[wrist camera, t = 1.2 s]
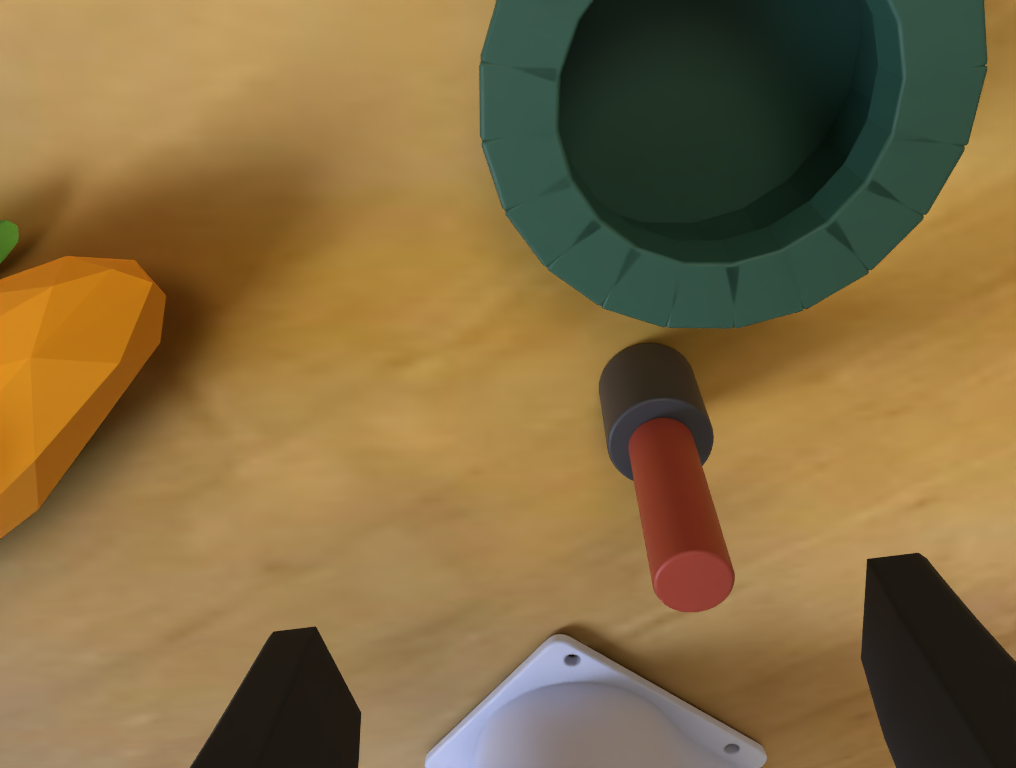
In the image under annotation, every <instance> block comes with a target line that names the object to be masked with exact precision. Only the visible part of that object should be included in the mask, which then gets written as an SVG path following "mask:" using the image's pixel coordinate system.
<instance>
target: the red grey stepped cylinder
mask: <svg viewBox="0 0 1016 768" xmlns="http://www.w3.org/2000/svg"><path fill="white" fill-rule="evenodd" d="M599 393H600V400H601V407H602V414H603V421H604V428H605V435H606V442H607V448H608V453H609V456H610V459H611V461H612V463H613V464H614V466H615V467H616V468H617V469H618V470H619V471H620V472H621V473H622V474H623V475H625V476H626V477H627V478H629V479H631V480H633V481H634V484H635V489H636V495H637V500H638V506H639V511H640V517H641V523H642V528H643V534H644V539H645V545H646V550H647V556H648V561H649V567H650V572H651V578H652V584H653V589H654V592H655V594H656V595H657V597H658V598H659V599H660V600H661V601H662V602H663V603H664V604H665V605H667V606H668V607H670V608H672V609H675V610H678V611H682V612H700V611H704V610H708V609H711V608H713V607H715V606H717V605H718V604H720V603H721V602H722V601H724V600H725V599H726V598H727V596H728V595H729V594H730V592H731V590H732V588H733V585H734V581H735V574H734V570H733V567H732V563H731V560H730V557H729V553H728V550H727V547H726V543H725V540H724V537H723V534H722V530H721V527H720V524H719V520H718V517H717V514H716V510H715V507H714V504H713V501H712V497H711V494H710V491H709V487H708V484H707V481H706V478H705V474H704V471H703V468H702V466H703V465H704V463H705V462H706V460H707V459H708V457H709V455H710V452H711V450H712V446H713V438H714V435H713V429H712V425H711V422H710V419H709V417H708V414H707V411H706V408H705V405H704V402H703V399H702V396H701V393H700V390H699V387H698V385H697V382H696V379H695V376H694V373H693V370H692V368H691V366H690V364H689V362H688V361H687V360H686V358H685V357H684V356H683V355H681V354H680V353H679V352H678V351H676V350H674V349H672V348H670V347H668V346H664V345H661V344H654V343H646V344H639V345H635V346H631V347H629V348H627V349H624V350H623V351H621V352H619V353H618V354H617V355H615V356H614V357H613V358H612V359H611V360H610V361H609V363H608V364H607V365H606V367H605V368H604V370H603V372H602V375H601V378H600V383H599Z"/></svg>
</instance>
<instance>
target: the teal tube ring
mask: <svg viewBox="0 0 1016 768" xmlns="http://www.w3.org/2000/svg"><path fill="white" fill-rule="evenodd" d="M985 64H987V45H986V27H985V8H984V0H497V1H496V5H495V8H494V11H493V15H492V18H491V21H490V25H489V28H488V32H487V35H486V39H485V42H484V46H483V49H482V53H481V62H480V66H479V80H480V137H481V139H482V148H483V151H484V154H485V157H486V160H487V163H488V166H489V169H490V172H491V175H492V178H493V181H494V184H495V187H496V190H497V193H498V196H499V199H500V202H501V205H502V207H503V209H504V210H505V213H506V216H507V217H508V218H509V220H510V221H511V222H512V224H513V225H514V227H515V228H516V229H517V231H518V232H519V233H520V235H521V236H522V237H523V239H524V240H525V241H526V243H527V244H528V245H529V247H530V248H531V249H532V251H533V252H534V253H535V255H536V256H537V258H538V259H539V260H540V262H541V263H542V264H543V265H544V266H547V268H548V270H549V271H550V272H552V273H553V274H555V275H556V276H557V277H559V278H560V279H562V280H563V281H565V282H566V283H567V284H569V285H570V286H572V287H573V288H574V289H576V290H577V291H579V292H580V293H582V294H583V295H584V296H586V297H587V298H589V299H590V300H591V301H593V302H594V303H596V304H597V305H600V306H601V305H602V308H604V309H607V310H610V311H613V312H616V313H619V314H623V315H626V316H629V317H632V318H635V319H638V320H642V321H645V322H648V323H651V324H654V325H658V326H661V327H666V326H667V327H669V328H734V326H735V328H740V327H744V326H748V325H751V324H755V323H759V322H763V321H766V320H770V319H774V318H777V317H781V316H785V315H789V314H792V313H796V312H800V311H802V310H803V309H808V308H809V307H811V306H813V305H815V304H816V303H818V302H820V301H822V300H823V299H825V298H827V297H829V296H830V295H832V294H834V293H835V292H837V291H839V290H841V289H842V288H844V287H846V286H848V285H849V284H851V283H853V282H854V281H856V280H858V279H860V278H861V277H863V276H865V275H867V274H868V273H869V271H868V270H872V269H873V268H874V267H875V266H876V265H877V264H878V263H879V262H880V261H882V260H883V259H884V258H885V257H886V256H887V255H888V254H889V253H890V252H891V251H892V250H893V249H894V248H895V247H896V246H897V245H898V244H899V243H900V242H901V241H902V240H903V239H904V238H905V237H906V236H907V235H908V234H909V233H910V232H911V231H912V230H913V229H914V228H915V227H916V226H917V225H918V224H919V223H920V222H921V221H922V220H923V218H924V217H923V215H926V214H927V213H928V212H929V210H930V208H931V207H932V205H933V203H934V201H935V200H936V198H937V196H938V195H939V193H940V191H941V189H942V188H943V186H944V184H945V183H946V181H947V179H948V177H949V176H950V174H951V172H952V171H953V169H954V167H955V166H956V164H957V162H958V160H959V159H960V157H961V155H962V154H963V152H964V149H965V147H964V146H965V145H967V144H968V142H969V138H970V134H971V130H972V126H973V122H974V118H975V114H976V111H977V107H978V103H979V99H980V95H981V91H982V87H983V83H984V79H985V76H986V72H987V66H985Z"/></svg>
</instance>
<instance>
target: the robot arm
mask: <svg viewBox="0 0 1016 768" xmlns="http://www.w3.org/2000/svg"><path fill="white" fill-rule="evenodd" d="M571 654H575V655H577V656H574V657H570V656H568V655H571ZM861 660H862V664H863V667H864V671H865V674H866V678H867V681H868V684H869V688H870V691H871V695H872V698H873V702H874V705H875V709H876V712H877V715H878V718H879V722H880V725H881V728H882V732H883V735H884V738H885V741H886V743H887V746H888V748H889V751H890V753H891V756H892V758H893V760H894V763H895V765H896V768H1016V661H1015V660H1014V659H1013V658H1012V657H1011V656H1010V655H1009V654H1008V653H1007V652H1006V651H1005V649H1004V648H1003V647H1002V646H1001V645H1000V644H999V643H998V642H997V641H996V639H995V638H994V637H993V636H992V635H991V634H990V633H989V632H988V631H987V629H986V628H985V627H984V626H983V625H982V624H981V623H980V622H979V620H978V619H977V618H976V617H975V616H974V615H973V614H972V612H971V611H970V610H969V609H968V608H967V607H966V605H965V604H964V603H963V602H962V601H961V600H960V598H959V597H958V596H957V595H956V594H955V592H954V591H953V590H952V589H951V588H950V586H949V585H948V584H947V583H946V582H945V580H944V579H943V578H942V577H941V576H940V574H939V573H938V572H937V571H936V569H935V568H934V567H933V566H932V564H931V563H930V562H929V561H928V559H927V558H925V557H924V556H922V555H921V554H919V553H913V554H905V555H896V556H888V557H880V558H872V559H867V570H866V586H865V602H864V619H863V635H862V651H861ZM360 725H361V712H360V710H359V708H358V706H357V704H356V702H355V700H354V698H353V696H352V694H351V693H350V691H349V689H348V687H347V685H346V683H345V681H344V679H343V677H342V675H341V673H340V672H339V670H338V668H337V666H336V664H335V662H334V660H333V658H332V656H331V654H330V652H329V651H328V649H327V647H326V645H325V643H324V641H323V639H322V637H321V635H320V633H319V632H318V630H317V628H316V627H308V628H300V629H292V630H284V631H276V632H273V633H272V634H271V635H270V637H269V638H268V640H267V641H266V643H265V645H264V646H263V648H262V650H261V651H260V653H259V655H258V656H257V658H256V660H255V661H254V663H253V665H252V667H251V668H250V670H249V672H248V673H247V675H246V677H245V678H244V680H243V682H242V683H241V685H240V687H239V689H238V690H237V692H236V694H235V695H234V697H233V699H232V700H231V702H230V704H229V705H228V707H227V709H226V710H225V712H224V714H223V715H222V717H221V719H220V720H219V722H218V724H217V725H216V727H215V728H214V730H213V732H212V733H211V735H210V737H209V738H208V740H207V741H206V743H205V745H204V746H203V748H202V749H201V751H200V753H199V754H198V756H197V757H196V759H195V760H194V762H193V764H192V765H191V767H190V768H358V762H359V745H360ZM766 760H767V756H766V753H765V749H764V747H763V746H762V745H760V744H759V743H757V742H755V741H753V740H752V739H750V738H748V737H746V736H744V735H743V734H741V733H739V732H737V731H736V730H734V729H732V728H730V727H729V726H727V725H725V724H723V723H722V722H720V721H718V720H716V719H714V718H713V717H711V716H709V715H707V714H706V713H704V712H702V711H700V710H699V709H697V708H695V707H693V706H692V705H690V704H688V703H686V702H684V701H683V700H681V699H679V698H677V697H676V696H674V695H672V694H670V693H669V692H667V691H665V690H663V689H662V688H660V687H658V686H656V685H654V684H653V683H651V682H649V681H647V680H646V679H644V678H642V677H640V676H639V675H637V674H635V673H633V672H632V671H630V670H628V669H626V668H624V667H623V666H621V665H619V664H617V663H616V662H614V661H612V660H610V659H609V658H607V657H605V656H603V655H602V654H600V653H598V652H596V651H594V650H593V649H591V648H589V647H587V646H586V645H584V644H582V643H580V642H579V641H577V640H575V639H573V638H572V637H570V636H567V635H564V634H557V635H553V636H551V637H549V638H548V639H547V640H546V641H545V642H544V643H543V644H542V645H540V646H539V647H538V648H537V649H536V650H535V651H534V652H533V653H532V654H531V655H530V656H529V657H528V658H527V659H526V660H525V661H524V662H523V663H522V664H521V665H520V666H518V667H517V668H516V669H515V670H514V671H513V672H512V673H511V674H510V675H509V676H508V677H507V678H506V679H505V680H504V681H503V682H502V683H501V684H500V685H499V686H498V687H496V688H495V689H494V690H493V691H492V692H491V693H490V694H489V695H488V696H487V697H486V698H485V699H484V700H483V701H482V702H481V703H480V704H479V705H478V706H477V707H475V708H474V709H473V710H472V711H471V712H470V713H469V714H468V715H467V716H466V717H465V718H464V719H463V720H462V721H461V722H460V723H459V724H458V725H457V726H456V727H455V728H453V729H452V730H451V731H450V732H449V733H448V734H447V735H446V736H445V737H444V738H443V739H442V740H441V741H440V742H439V743H438V744H437V745H436V746H435V747H434V748H433V749H431V750H430V751H429V752H428V754H427V755H426V759H425V768H760V767H762V766H763V765H764V764H765V763H766Z"/></svg>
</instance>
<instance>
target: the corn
mask: <svg viewBox="0 0 1016 768" xmlns="http://www.w3.org/2000/svg"><path fill="white" fill-rule="evenodd" d="M18 241H19V238H18V227H17V226H16V225H15V224H13V223H12V222H10V221H9V220H3V221H0V263H1V262H2V261H3V260H4V259H5V258H6V257H7V255H8V254H9V253H10V251H11V250H12V249H13V247H14V246H15V245H16V244H17V242H18ZM165 302H166V295H165V293H164V292H163V291H162V290H161V289H160V288H159V287H158V286H157V284H156V283H155V282H154V281H153V280H152V279H151V278H150V277H149V275H148V274H147V273H146V272H145V271H144V270H143V269H142V268H141V266H140V265H139V264H138V263H137V262H136V261H135V260H126V259H110V258H93V257H76V256H65V257H62V258H59V259H56V260H54V261H51V262H48V263H45V264H42V265H40V266H37V267H34V268H31V269H28V270H25V271H23V272H20V273H17V274H14V275H11V276H8V277H6V278H3V279H0V539H1V538H2V537H3V536H5V535H6V534H7V533H8V532H10V531H11V530H12V529H14V528H15V527H16V526H18V525H19V524H20V523H21V522H23V521H24V520H25V519H27V518H28V517H29V516H31V515H32V514H33V513H34V512H36V511H37V510H38V509H39V508H40V507H41V505H42V504H43V503H44V501H45V500H46V498H47V497H48V496H49V494H50V493H51V492H52V490H53V489H54V487H55V486H56V485H57V483H58V482H59V481H60V479H61V478H62V476H63V475H64V474H65V472H66V471H67V470H68V468H69V467H70V466H71V464H72V463H73V461H74V460H75V459H76V457H77V456H78V455H79V453H80V452H81V450H82V449H83V448H84V446H85V445H86V444H87V442H88V441H89V440H90V438H91V437H92V435H93V434H94V433H95V431H96V430H97V429H98V427H99V426H100V424H101V423H102V422H103V420H104V419H105V418H106V416H107V415H108V413H109V412H110V411H111V409H112V408H113V407H114V405H115V404H116V403H117V401H118V400H119V398H120V397H121V396H122V394H123V393H124V392H125V390H126V389H127V387H128V386H129V385H130V383H131V382H132V381H133V379H134V378H135V376H136V375H137V374H138V372H139V371H140V370H141V368H142V367H143V366H144V364H145V363H146V361H147V360H148V359H149V357H150V356H151V355H152V353H153V352H154V350H155V349H156V348H157V346H158V345H159V344H160V340H161V332H162V325H163V317H164V309H165Z"/></svg>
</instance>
